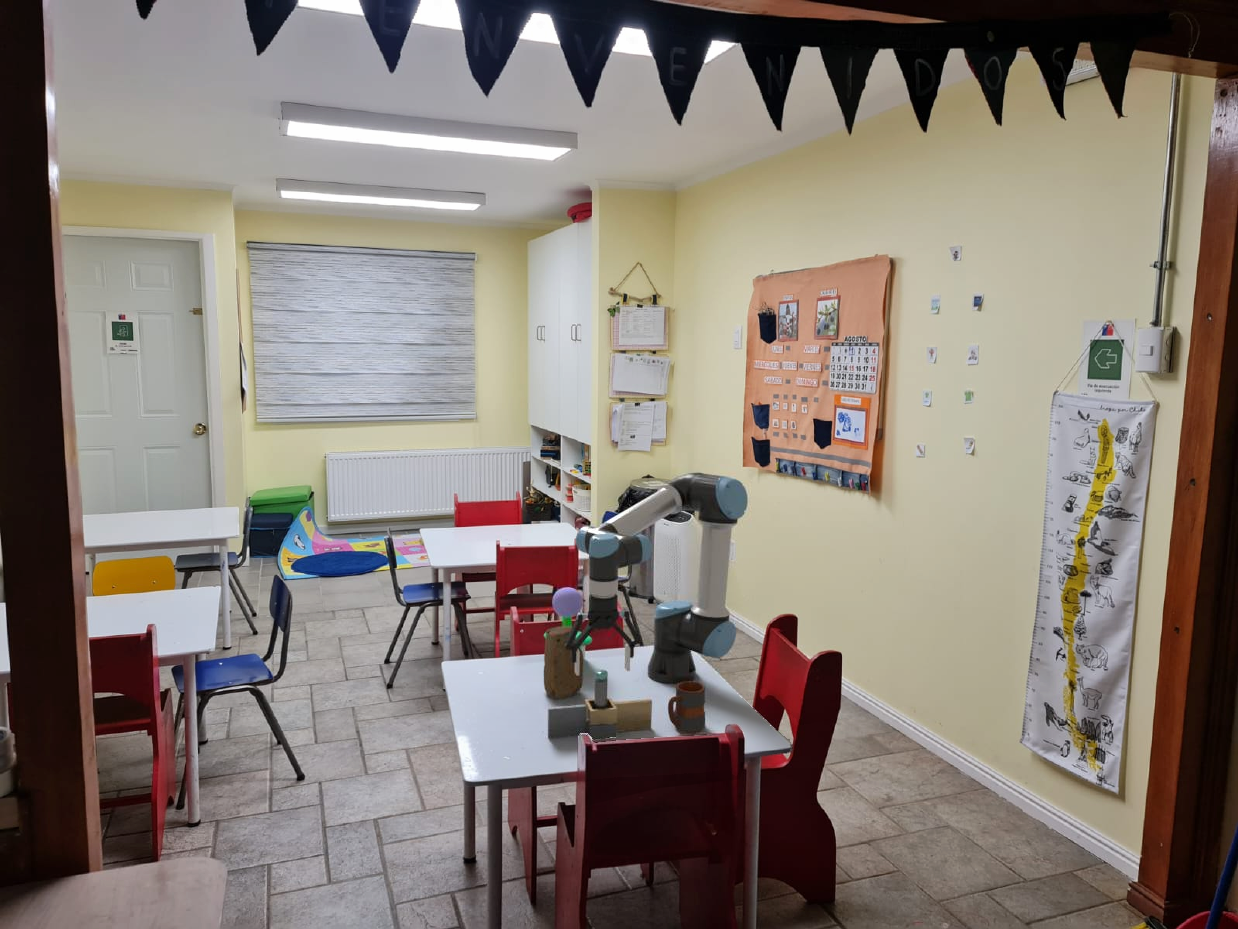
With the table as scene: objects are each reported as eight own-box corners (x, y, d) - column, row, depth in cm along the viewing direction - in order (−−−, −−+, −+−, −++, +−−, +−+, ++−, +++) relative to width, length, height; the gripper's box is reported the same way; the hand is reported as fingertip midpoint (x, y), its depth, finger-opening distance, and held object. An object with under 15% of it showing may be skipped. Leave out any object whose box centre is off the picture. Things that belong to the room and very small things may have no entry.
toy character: (598, 665, 276) (599, 589, 272) (567, 674, 268) (569, 596, 264) (568, 651, 288) (570, 578, 284) (538, 659, 280) (539, 585, 276)
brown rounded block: (551, 701, 248) (551, 635, 245) (541, 691, 254) (542, 626, 251) (585, 695, 252) (586, 630, 250) (575, 686, 259) (576, 622, 256)
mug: (657, 728, 232) (658, 687, 230) (690, 717, 239) (691, 677, 238) (678, 741, 225) (680, 698, 224) (711, 729, 233) (713, 688, 231)
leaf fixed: (610, 726, 233) (610, 697, 232) (616, 738, 226) (617, 708, 225) (545, 731, 229) (546, 702, 228) (550, 744, 222) (550, 714, 221)
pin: (605, 729, 231) (605, 669, 228) (608, 735, 227) (608, 674, 225) (592, 730, 230) (593, 670, 227) (595, 736, 227) (596, 675, 224)
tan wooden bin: (646, 721, 235) (647, 694, 234) (654, 733, 229) (655, 705, 227) (584, 727, 231) (584, 699, 230) (589, 739, 224) (590, 711, 223)
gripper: (645, 586, 230) (644, 662, 233) (553, 592, 224) (553, 669, 227) (653, 595, 223) (651, 673, 226) (558, 601, 216) (558, 681, 220)
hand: (602, 671), depth 226 cm, fingers open, 13 cm apart
